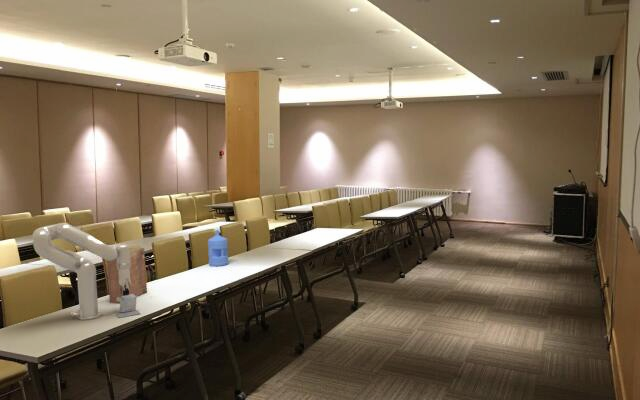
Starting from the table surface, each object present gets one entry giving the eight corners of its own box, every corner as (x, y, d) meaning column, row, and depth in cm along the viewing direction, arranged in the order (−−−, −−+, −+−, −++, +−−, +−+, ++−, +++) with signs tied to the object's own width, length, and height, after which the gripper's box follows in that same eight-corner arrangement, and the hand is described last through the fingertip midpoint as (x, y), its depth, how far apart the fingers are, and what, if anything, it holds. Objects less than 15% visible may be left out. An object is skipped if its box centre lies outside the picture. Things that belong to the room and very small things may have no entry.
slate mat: (118, 318, 288) (118, 317, 288) (115, 314, 294) (115, 314, 294) (140, 314, 294) (140, 313, 294) (137, 310, 301) (137, 310, 301)
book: (135, 292, 344) (132, 247, 341) (147, 292, 341) (144, 247, 339) (109, 302, 320) (106, 254, 317) (122, 303, 317) (119, 255, 315)
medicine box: (131, 308, 305) (132, 293, 304) (135, 310, 302) (136, 295, 301) (119, 310, 299) (120, 296, 298) (123, 312, 296) (124, 298, 295)
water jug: (205, 264, 424) (203, 230, 421) (221, 261, 434) (220, 228, 432) (215, 267, 412) (213, 232, 410) (232, 264, 423) (230, 230, 420)
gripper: (114, 264, 305) (116, 295, 307) (119, 269, 293) (122, 300, 294) (127, 262, 309) (130, 292, 311) (133, 267, 297) (136, 298, 298)
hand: (126, 296), depth 303 cm, fingers closed
